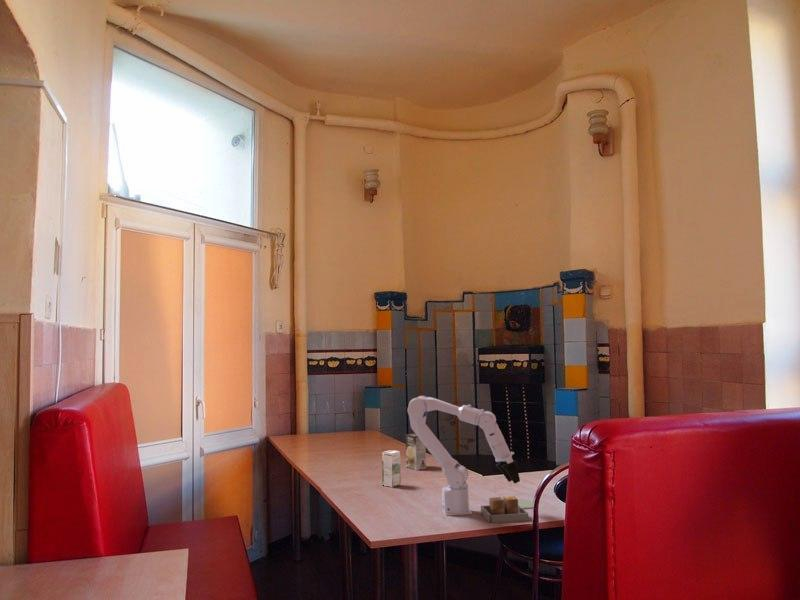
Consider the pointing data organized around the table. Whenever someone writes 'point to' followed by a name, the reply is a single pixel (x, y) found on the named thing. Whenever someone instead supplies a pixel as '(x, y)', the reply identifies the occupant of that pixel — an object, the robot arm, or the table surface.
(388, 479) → the syrup box
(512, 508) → the label block
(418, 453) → the coffee box
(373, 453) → the table surface
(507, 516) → the bin
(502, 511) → the plain block
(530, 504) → the mat
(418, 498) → the table surface
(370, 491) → the table surface
